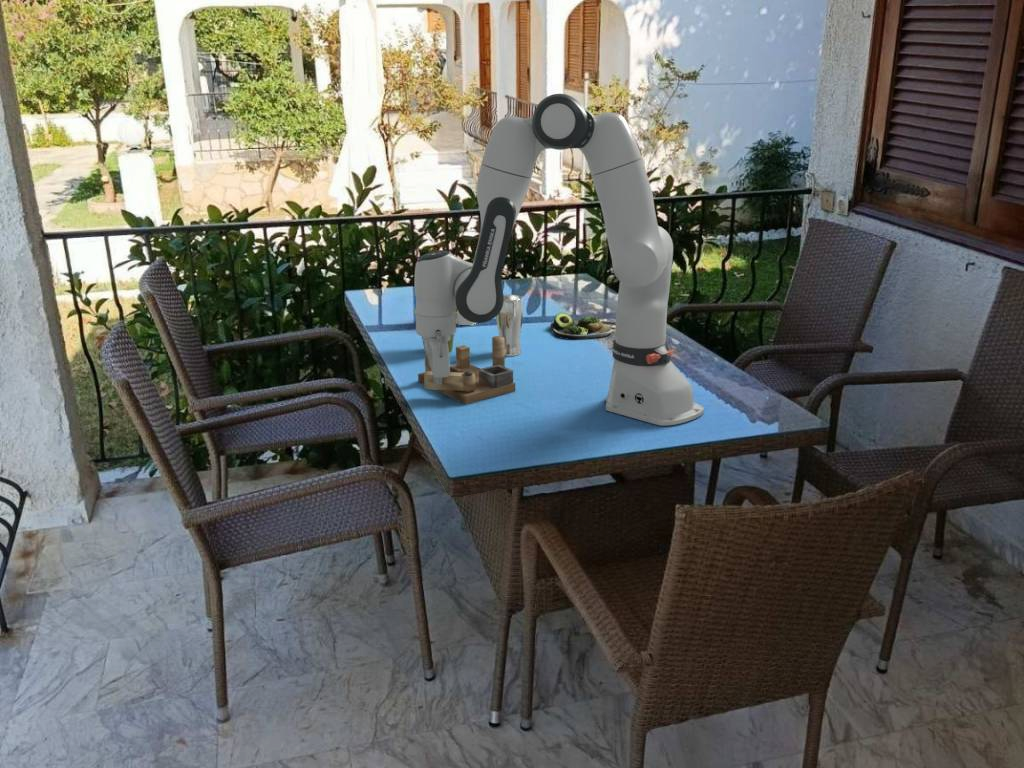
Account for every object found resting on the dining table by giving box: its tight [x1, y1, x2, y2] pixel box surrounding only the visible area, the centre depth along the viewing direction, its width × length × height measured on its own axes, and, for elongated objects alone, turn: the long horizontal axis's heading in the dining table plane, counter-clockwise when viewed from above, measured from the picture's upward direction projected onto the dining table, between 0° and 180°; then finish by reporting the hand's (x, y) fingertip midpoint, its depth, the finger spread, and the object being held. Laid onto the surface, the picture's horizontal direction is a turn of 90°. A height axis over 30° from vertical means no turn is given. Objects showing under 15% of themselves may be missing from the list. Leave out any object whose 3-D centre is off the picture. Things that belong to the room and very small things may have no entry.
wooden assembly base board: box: [417, 344, 516, 405], centre depth 218 cm, size 20×14×7 cm
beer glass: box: [495, 294, 524, 357], centre depth 241 cm, size 7×7×15 cm
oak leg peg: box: [491, 335, 506, 367], centre depth 227 cm, size 3×3×9 cm
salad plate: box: [550, 312, 616, 340], centre depth 263 cm, size 19×18×5 cm
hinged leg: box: [423, 371, 475, 392], centre depth 210 cm, size 12×3×4 cm, turn 81°
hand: (437, 384), depth 209 cm, fingers closed, pressing on hinged leg
